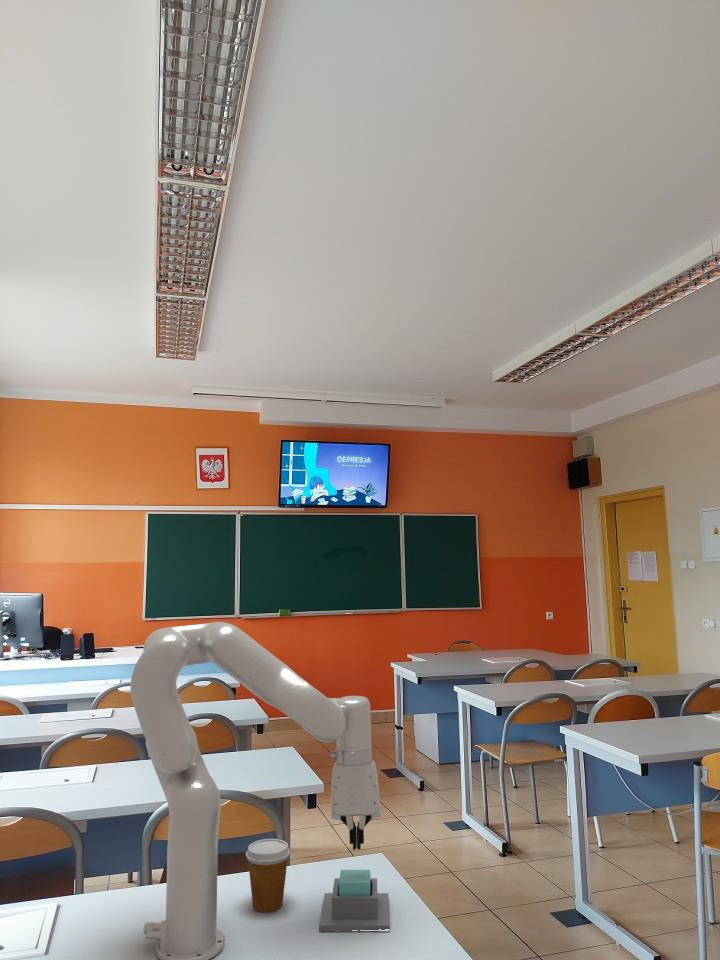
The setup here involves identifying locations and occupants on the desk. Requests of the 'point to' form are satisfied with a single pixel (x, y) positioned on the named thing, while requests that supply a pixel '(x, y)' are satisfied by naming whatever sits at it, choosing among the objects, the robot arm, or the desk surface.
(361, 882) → the button cap
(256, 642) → the robot arm
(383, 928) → the button housing
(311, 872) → the desk surface
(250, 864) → the disposable coffee cup
